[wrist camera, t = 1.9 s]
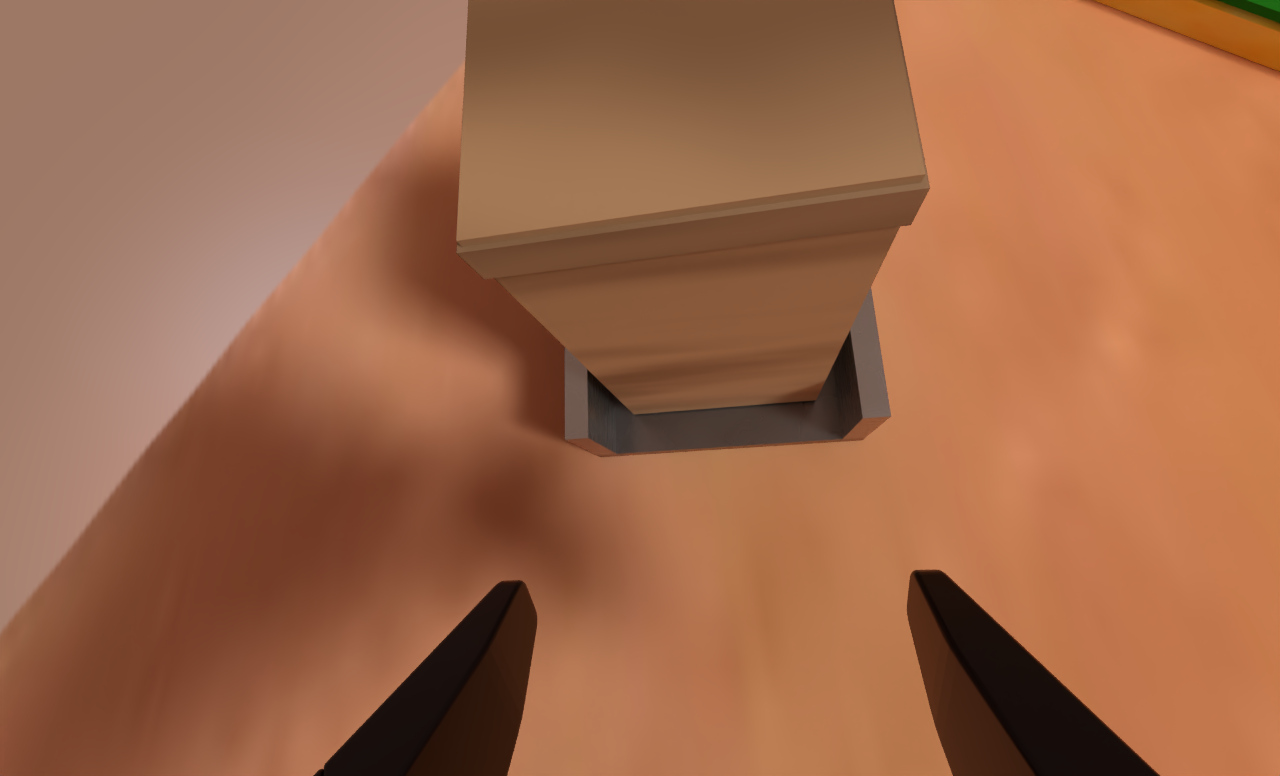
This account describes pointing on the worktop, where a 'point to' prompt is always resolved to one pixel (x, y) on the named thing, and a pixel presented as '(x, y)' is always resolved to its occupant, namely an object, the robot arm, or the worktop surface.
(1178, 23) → the dish sponge
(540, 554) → the worktop surface
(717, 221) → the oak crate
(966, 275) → the worktop surface
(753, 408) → the metal bay
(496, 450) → the worktop surface
